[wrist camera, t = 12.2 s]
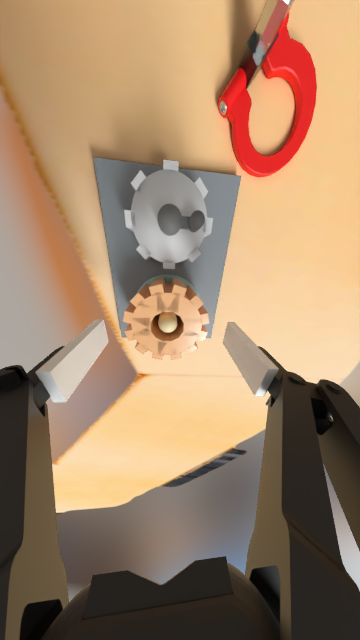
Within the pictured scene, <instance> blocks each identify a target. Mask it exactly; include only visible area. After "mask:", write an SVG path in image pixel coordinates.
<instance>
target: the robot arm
mask: <svg viewBox="0 0 360 640" xmlns="http://www.w3.org/2000/svg"><path fill="white" fill-rule="evenodd" d="M107 343H108V337H107V332H106V328H105V324H104V320H98V319H96V320H94V321H93V322H92V323H91V324H90V325H89V326H88V327H86V328H85V329H84V330H83V331H82V332H81V333H80V334H79V335H77V336H76V337H75V338H74V339H73V340H72V341H70V342H69V343H68V344H67V345H66V346H62V347H60V348H58V349H56V350H55V351H54V352H52V353H51V354H50V355H49V356H47V357H46V358H45V359H44V360H43V361H41V362H40V363H39V364H38V365H37V366H35V367H34V368H33V369H32V370H31V371H29V372H28V373H26V372H25V370H24V369H23V367H22V366H20V365H14V366H9V367H5V368H3V369H1V370H0V640H360V591H359V589H358V587H357V585H356V584H355V582H354V581H353V580H352V578H351V577H350V576H349V574H348V573H347V572H346V570H345V567H344V565H343V563H342V559H341V555H340V550H339V545H338V540H337V534H336V529H335V524H334V519H333V514H332V508H331V503H330V498H329V493H328V488H327V482H326V477H325V472H324V467H323V463H324V465H325V468H326V470H327V473H328V475H329V478H330V480H331V483H332V485H333V487H334V490H335V492H336V495H337V497H338V499H339V502H340V504H341V507H342V509H343V512H344V514H345V516H346V519H347V521H348V524H349V526H350V529H351V531H352V533H353V536H354V538H355V541H356V543H357V546H358V548H359V551H360V408H359V406H358V405H357V404H356V402H355V401H354V400H353V399H352V397H351V396H350V395H349V394H348V393H347V392H346V391H345V390H344V389H343V388H342V387H340V386H339V385H338V384H335V383H334V382H331V381H328V380H324V379H323V380H320V381H319V382H318V383H317V384H314V383H310V382H306V381H305V380H304V379H303V378H302V377H300V376H299V375H297V374H295V373H292V372H287V371H286V370H285V369H284V368H283V367H282V366H281V365H280V364H279V363H278V362H277V361H276V360H275V359H274V358H273V357H272V356H271V355H270V354H269V353H268V352H267V351H266V350H265V349H263V348H262V347H260V346H257V345H256V344H255V343H254V342H253V341H252V340H251V339H250V338H249V337H248V336H247V335H246V334H245V333H244V332H243V331H242V330H241V329H240V328H239V327H238V326H237V324H236V323H235V322H228V323H227V327H226V331H225V335H224V339H223V344H224V345H225V347H226V349H227V350H228V352H229V354H230V355H231V357H232V359H233V360H234V362H235V364H236V365H237V367H238V369H239V370H240V372H241V374H242V375H243V377H244V379H245V380H246V382H247V384H248V385H249V387H250V389H251V390H252V392H253V394H254V395H255V396H265V394H266V392H267V390H268V392H269V393H270V394H271V396H270V397H269V399H268V401H267V403H266V405H268V413H267V422H266V431H265V440H264V449H263V458H262V468H261V477H260V485H259V494H258V504H257V512H256V521H255V528H254V532H253V534H252V537H251V540H250V544H249V550H248V555H247V563H246V571H245V575H244V574H243V573H242V572H241V571H240V570H238V569H237V568H235V567H234V566H233V565H231V564H229V563H227V560H226V556H225V557H218V558H211V559H205V560H197V561H194V562H193V563H191V564H190V565H188V566H187V567H186V568H184V569H183V570H182V571H180V572H179V573H178V574H176V575H175V576H174V577H172V578H171V579H170V580H168V581H167V582H166V583H164V584H159V583H156V582H154V581H152V580H149V579H147V578H145V577H143V576H141V575H139V574H136V573H133V572H131V571H128V570H127V571H120V572H114V573H106V574H99V575H93V577H92V581H91V583H90V584H89V585H87V586H86V587H85V588H84V589H82V590H81V591H80V592H79V593H78V594H77V595H76V596H75V597H74V598H73V599H72V600H71V601H70V602H69V599H68V589H67V579H66V572H65V569H64V564H63V562H62V559H61V557H60V553H59V547H58V534H57V523H56V509H55V497H54V484H53V471H52V459H51V447H50V434H49V421H48V409H47V404H46V403H45V402H46V401H47V400H48V399H49V397H51V399H52V400H53V402H66V401H67V400H68V399H69V397H70V396H71V394H72V393H73V392H74V390H75V389H76V387H77V386H78V385H79V383H80V382H81V380H82V378H83V377H84V376H85V375H86V373H87V372H88V370H89V369H90V368H91V366H92V365H93V363H94V362H95V360H96V359H97V357H98V356H99V355H100V353H101V351H102V350H103V349H104V348H105V346H106V345H107ZM331 415H332V417H333V421H332V419H331V417H330V416H331Z"/></svg>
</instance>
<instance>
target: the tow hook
mask: <svg viewBox="0 0 360 640" xmlns="http://www.w3.org/2000/svg"><path fill="white" fill-rule="evenodd" d="M294 1H295V0H267V3H266V5H265V8H264V10H263V13H262V15H261V18H260V20H259V22H258V25H257V27H256V28H255V30H254V32H253V33H252V35H251V36H250V38H249V40H248V42H247V45H246V47H245V50H244V52H243V55H242V57H241V60H240V62H239V65H238V67H237V70H236V73H235V74H234V76H233V78H232V79H231V81H230V82H229V84H228V86H227V87H226V89H225V90H224V92H223V94H222V95H221V97H220V98H219V101H218V108H219V112H220V114H221V116H222V117H223V118H226V117H228V119H229V121H230V123H231V124H232V133H231V134H232V142H233V149H234V152H235V155H236V158H237V161H238V162H239V164H240V165H241V167H242V168H243V170H245V171H246V172H247V173H248V174H250V175H252V176H256V177H266V176H269V175H271V174H273V173H275V172H277V171H278V170H280V169H281V168H282V167H283V166H285V165H286V164H287V163H288V162H289V161H290V160H291V159H292V157H293V156H294V155H295V154H296V153H297V151H298V150H299V148H300V146H301V144H302V142H303V141H304V139H305V137H306V134H307V132H308V129H309V127H310V124H311V121H312V117H313V112H314V108H315V102H316V90H317V84H316V73H315V68H314V65H313V62H312V58H311V55H310V54H309V52H308V51H307V50H306V48H305V47H304V46H303V44H301V43H299V42H297V41H296V40H294V39H290V36H289V33H288V30H287V27H286V26H287V23H288V18H289V10H290V8H291V6H292V4H293V3H294ZM261 67H263V69H264V72H265V74H266V77H267V78H268V79H271V78H273V77H281V78H284V79H286V80H287V81H288V82H289V84H290V85H291V86H292V89H293V91H294V94H295V101H296V115H295V120H294V125H293V128H292V131H291V134H290V136H289V138H288V140H287V142H286V144H285V145H284V146H283V148H282V149H281V150H280V151H279V152H278V153H276V154H274V155H271V156H264V155H261V154H259V153H258V152H257V151H256V150H255V149H254V147H253V145H252V143H251V140H250V136H249V127H248V122H249V112H250V108H251V98H250V96H249V94H248V91H247V88H248V87H249V85H250V84H251V82H252V81H253V79H254V78H255V76H256V75H257V73H258V72H259V70H260V69H261Z"/></svg>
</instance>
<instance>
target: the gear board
mask: <svg viewBox="0 0 360 640" xmlns="http://www.w3.org/2000/svg"><path fill="white" fill-rule="evenodd" d="M93 159H94V165H95V171H96V178H97V184H98V190H99V197H100V203H101V209H102V215H103V222H104V228H105V234H106V241H107V247H108V253H109V259H110V266H111V272H112V278H113V285H114V291H115V297H116V303H117V310H118V316H119V322H120V329H121V335H122V337H127V336H126V334H125V332H124V331H125V330H126V328H127V326H128V325H129V323H126V322H123V318H124V312H125V310H126V309H127V308H128V306H129V305H130V304H131V302H130V300H131V299H132V298H133V297H134V296H135V295H136V294H137V293H138V292H139V290H140V289H141V288H142V287H143V286H144V285H145V284H146V283H148V284H149V285H151V283H152V282H153V280H154V279H155V278H159V277H164V278H165V282H166V283H171V282H172V278H173V277H175V278H178V279H181V280H182V281H183V283H184V284H185V286H186V287H187V286H188V285H190V286H191V287H192V289H193V290H194V291H195V292H196V294H197V295H198V296H199V298H200V299H201V300H202V302H203V303H204V304H203V306H204V308H205V309H206V311H207V312H208V316H209V324H204V326H205V328H206V330H207V332H208V333H207V335H206V337H205V338H211V334H212V328H213V323H214V318H215V312H216V307H217V302H218V297H219V291H220V286H221V281H222V275H223V270H224V265H225V259H226V254H227V249H228V243H229V238H230V233H231V227H232V222H233V217H234V212H235V206H236V201H237V196H238V190H239V185H240V180H241V176H238V175H230V174H222V173H214V172H206V171H198V170H190V169H182V168H179V161H171V160H164V159H163V166H158V165H151V164H143V163H135V162H127V161H119V160H111V159H103V158H95V157H93ZM177 316H178V315H176V314H175V313H173V312H162V313H160V314H158V317H159V322H158V325H159V328H160V329H161V330H162V331H163V332H166V333H169V332H172V331H174V330H175V329H176V327H177Z"/></svg>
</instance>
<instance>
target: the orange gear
mask: <svg viewBox="0 0 360 640" xmlns="http://www.w3.org/2000/svg"><path fill="white" fill-rule="evenodd" d="M130 302H131V304H130V305H129V306H128V308H127V309H126V310H125V312H124V318H123V322H126V323H129V325H128V326H127V328H126V330H125V331H124V332H125V334H126V336H127V338H128V340H129V341H130V340H135V339H136V340H137V344H136V346H135V349H137V350H138V351H139V352H141V353H142V354H144V353H145V352H147V351H148V350H149V351H151V352H153V355H152V358H155V359H160V360H162V359H163V356H164V355H170V357H171V360H173V359H178V358H181V352H182V351H185V350H186V351H187V352H188V353H189V354H191V353H192V352H193V351H195V350H196V349H197V348H198V347H197V344H196V340H200V341H204V339H205V337H206V335H207V333H208V332H207V330H206V328H205V326H204V324H209V316H208V312H207V311H206V309H205V308H204V306H203V304H204V303H203V302H202V300H201V299H200V298H199V296H198V295H197V294H196V292H195V291H194V290H193V289H192V287H191V286H190V285H188V286H187V287H186V286H185V284H184V283H183V281H182V280H181V279H178V278H175V277H173V278H172V282H171V283H166V282H165V278H164V277H159V278H155V279H154V280H153V282H152V283H151V285H149V284H148V283H146V284H145V285H144V286H143V287H142V288H141V289H140V290H139V292H138V293H137V294H136V295H135V296H134V297H133V298H132V299H131V300H130ZM162 312H173V313H175V314H176V315H178V316H177V327H176V329H175V330H174V331H172V332H169V333H166V332H163V331H162V330H161V329H160V328H159V325H158V322H159V317H158V314H160V313H162Z"/></svg>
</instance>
